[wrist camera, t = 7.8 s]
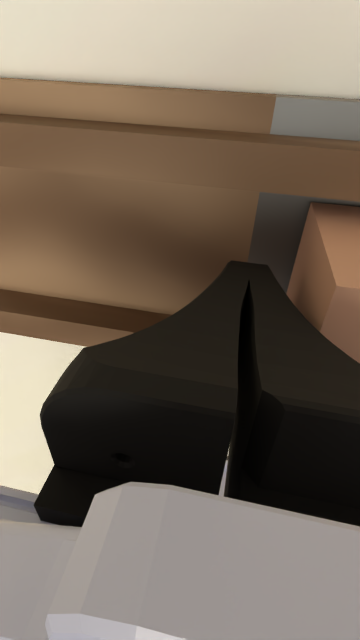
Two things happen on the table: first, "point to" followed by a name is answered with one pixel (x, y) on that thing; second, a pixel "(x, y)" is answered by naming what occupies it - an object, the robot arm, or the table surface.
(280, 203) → the chute
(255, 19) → the table surface
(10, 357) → the table surface
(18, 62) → the table surface
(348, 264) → the block
